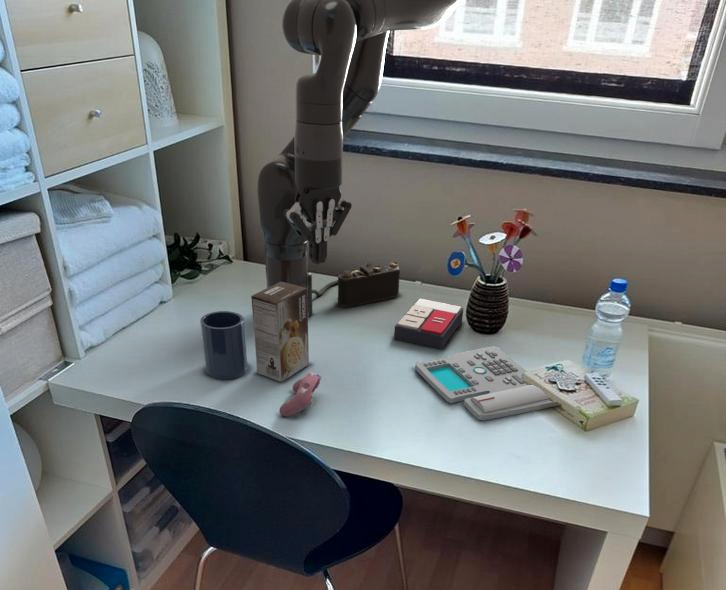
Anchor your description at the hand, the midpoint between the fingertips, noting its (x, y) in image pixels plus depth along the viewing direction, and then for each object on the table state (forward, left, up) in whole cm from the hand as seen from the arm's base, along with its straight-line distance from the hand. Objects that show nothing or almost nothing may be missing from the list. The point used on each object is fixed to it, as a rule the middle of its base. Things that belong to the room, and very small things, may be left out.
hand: (318, 262), depth 117 cm
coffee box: (+2, -8, -24) cm, 25 cm away
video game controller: (+8, +5, -24) cm, 25 cm away
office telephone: (-25, +21, -24) cm, 40 cm away
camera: (-35, -25, -24) cm, 49 cm away
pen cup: (+11, -15, -23) cm, 30 cm away
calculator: (-34, -3, -24) cm, 41 cm away
